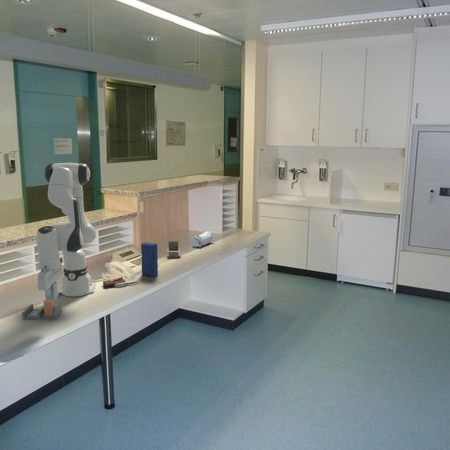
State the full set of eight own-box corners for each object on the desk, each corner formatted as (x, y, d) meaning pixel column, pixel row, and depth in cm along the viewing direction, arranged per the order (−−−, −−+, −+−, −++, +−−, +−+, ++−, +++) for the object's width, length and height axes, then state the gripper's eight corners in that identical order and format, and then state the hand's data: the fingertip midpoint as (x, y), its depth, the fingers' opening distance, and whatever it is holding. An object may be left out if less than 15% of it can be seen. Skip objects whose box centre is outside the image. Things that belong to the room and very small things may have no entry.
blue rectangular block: (158, 274, 284) (158, 243, 280) (153, 277, 279) (153, 245, 275) (146, 272, 288) (145, 241, 284) (141, 274, 283) (140, 243, 279)
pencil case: (200, 248, 349) (200, 236, 347) (190, 247, 353) (190, 235, 351) (213, 243, 367) (213, 231, 365) (204, 241, 371) (204, 230, 369)
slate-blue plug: (49, 296, 209) (48, 282, 207) (57, 296, 209) (56, 282, 207) (45, 299, 205) (44, 285, 203) (54, 299, 205) (53, 285, 203)
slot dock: (31, 311, 224) (31, 304, 224) (62, 311, 225) (61, 304, 224) (22, 319, 215) (22, 312, 214) (54, 319, 215) (54, 312, 214)
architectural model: (186, 253, 335) (185, 238, 333) (187, 260, 318) (187, 244, 316) (160, 254, 332) (160, 239, 330) (160, 260, 316) (160, 245, 313)
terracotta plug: (47, 311, 221) (46, 298, 220) (55, 311, 221) (54, 298, 220) (44, 314, 217) (43, 301, 216) (52, 314, 217) (51, 301, 216)
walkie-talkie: (105, 290, 256) (139, 284, 266) (104, 282, 255) (139, 277, 265) (100, 285, 263) (134, 280, 274) (100, 278, 263) (133, 273, 273)
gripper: (47, 270, 193) (50, 301, 196) (64, 256, 213) (66, 285, 216) (32, 270, 193) (35, 301, 196) (50, 256, 213) (52, 285, 216)
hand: (51, 292), depth 206 cm, fingers closed on slate-blue plug, 4 cm apart
